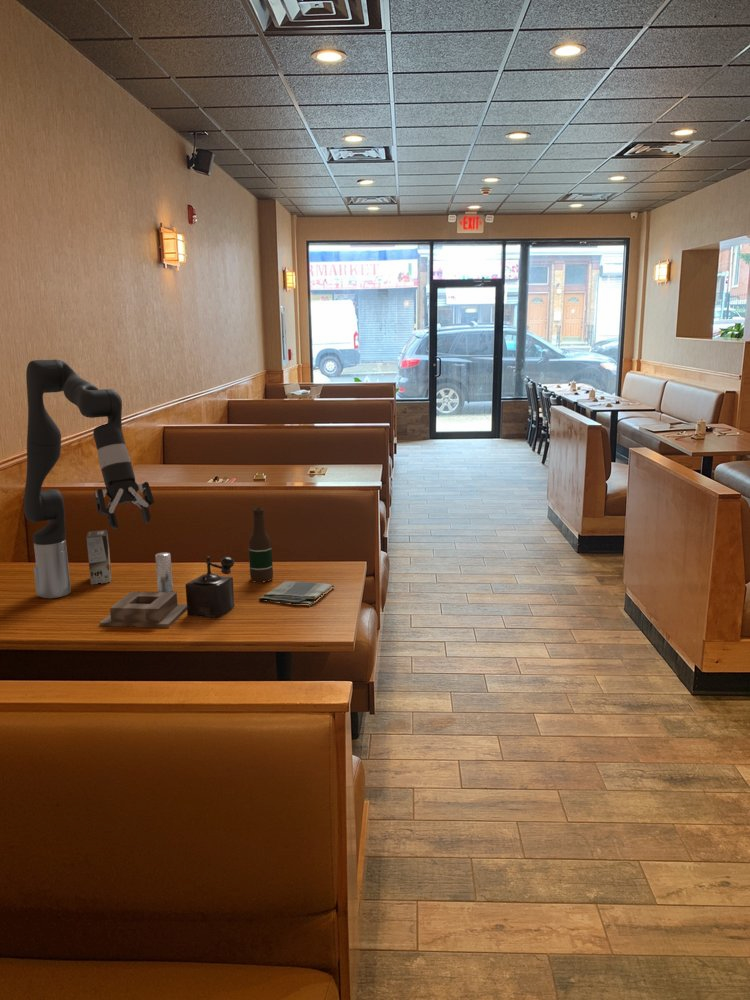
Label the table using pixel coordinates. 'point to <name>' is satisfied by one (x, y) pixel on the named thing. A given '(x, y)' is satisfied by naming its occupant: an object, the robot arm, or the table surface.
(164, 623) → the socket block
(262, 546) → the beer bottle
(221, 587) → the dark manual coffee grinder
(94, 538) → the coffee box
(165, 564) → the pin
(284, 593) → the dish towel
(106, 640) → the table surface
